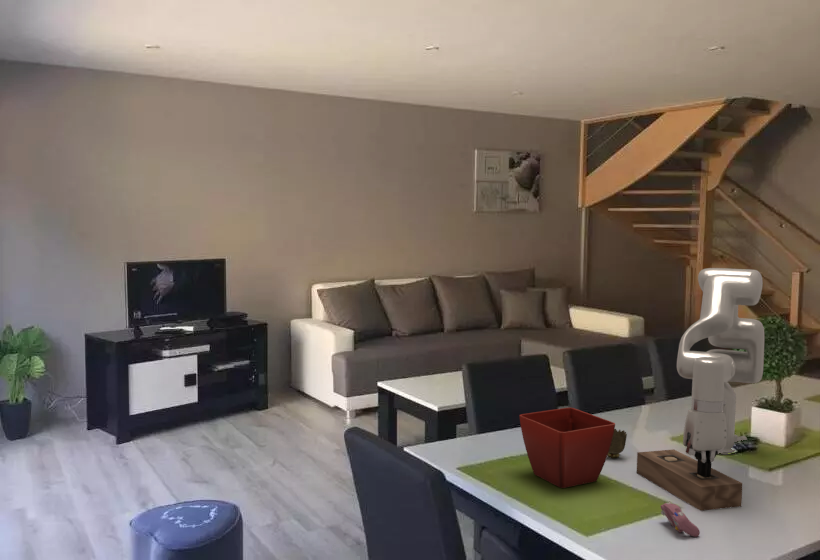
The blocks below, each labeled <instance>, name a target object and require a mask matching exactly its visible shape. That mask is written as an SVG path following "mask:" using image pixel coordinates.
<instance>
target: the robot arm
mask: <svg viewBox="0 0 820 560" xmlns="http://www.w3.org/2000/svg"><path fill="white" fill-rule="evenodd" d="M697 281H698V285H699V288H700V289H701V291H702V297H701V298H702V299H701V307H700V315H699V319H697V321H695V322H694V323H693V324H691V325H690V326H689V327H688V328H687V329H686V331H685V332H684V333H683V335H682V336H681V338H680V340H679V343H678V351H677V356H676V357H677V358H676V370H677V373H678V375H679V376H680V377H682V378H683V379H689V380H692V383H691V406H690V407H691V409H688V410H687V414H686V416H685V421H684V427H683V428H684V429H683V434H682V435H683V437H682V445H683V446H685V447H686V449H685V454H687V455H689V456H692V457H694V459H695V460H696V461H698V462H697V474H698V475H700V476H702V477H704V478H707V477H711V468H712V463H713V462H714V461H715V457H717V456H718V455H729V454H728V453H732V452H734V451H735V450H732V449H731V448H732V447H733V445H734V442H737V441H741V440H742V441H743V440H747V441H748V438H747V437H746V436H745V435H741V436H738V435H737V434H735V433H736V432H735V431H736V430H735V426H736V412H737V411H736V408H737V406H736V405H737V396H736V395H737V394H736V392H735V389H734V388H733V387H732V386H731V385H730V383H729V382H737V383H745V384H746V383H748V384H756V383H759V382H760V381H761V380H762V378H763V374H764V361H765V327H764V325H763V323H762V322H761V320H758V319H754V318H745V317H739V306H755V305H757V304H758V303H759V301H760V300H761V296H762V295H761V294H762V291H763V285H764V284H763V282H764V281H763V276H762V273H761V272H760V271H759V270H757V269H748V268H746V269H743V268H729V267H728V268H727V267H726V268H724V267H708V268H703V269H701V270H699V273H698V276H697ZM707 338H708V339H707ZM704 339H707V340H708V343H709V344H710V345H712V346H714V347H717V349H716V348H715V349H709V350H707V351H699V350H698V351H697V350H691V348H692V347H693V346H694V345H695V344H696V343H698V342H699V341H701V340H704ZM718 348H724V349H718ZM731 349H736V350H731ZM739 350H740V351H739ZM741 350H744V351H741ZM719 453H721V454H719Z"/></svg>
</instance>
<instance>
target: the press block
mask: <svg viewBox="0 0 820 560" xmlns="http://www.w3.org/2000/svg"><path fill="white" fill-rule="evenodd" d="M665 457H674V458H676V459H677V460H676V461H668V460H666V459H665ZM697 462H698V460H697V459H695V458H692V457H690V456H688V455H686V454H685V453H682V452H681V451H679V450H676V449H673V448H672V449H661V450H649V451H640V452H639V451H638V452H636V474H638V476H641V477H642V478H644V479H645V480H646V481H647V480H648V481H649V482H651V483H653V484H654V485H656V486H658V487H659V488H661V489H663V490H665V491H667V493H670V494H671V495H673V496H675V497H676V498H678V499H679V500H681V501H683V502H685V503H687V504H688V505H690V506H691V507H693V508H695V509H697V510H699V511H700V512H703V511H711V510H721V509H720V508H722V509H730V507H731V508H738V507H739V506H740V507H742V499H743V482H741V481H739V480H738V479H735V478H734V477H731V476H729V475H727V474H724V473H722V472H721V471H719V470H716V469H715V468H713V467H711V478H703V479H702V478H700V477H698V476H697Z"/></svg>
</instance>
